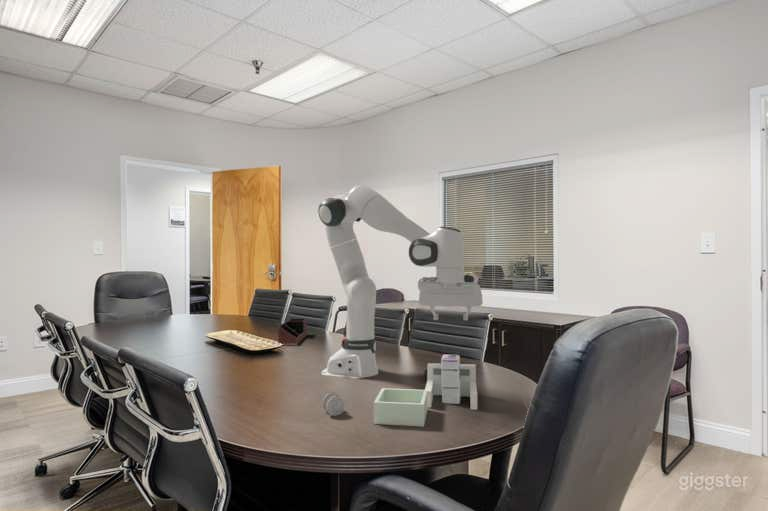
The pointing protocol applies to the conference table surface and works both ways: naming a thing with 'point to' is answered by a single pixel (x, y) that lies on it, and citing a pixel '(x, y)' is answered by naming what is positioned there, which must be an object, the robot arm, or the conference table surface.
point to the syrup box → (451, 379)
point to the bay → (465, 382)
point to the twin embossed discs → (333, 404)
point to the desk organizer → (292, 331)
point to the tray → (400, 407)
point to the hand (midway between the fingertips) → (450, 319)
